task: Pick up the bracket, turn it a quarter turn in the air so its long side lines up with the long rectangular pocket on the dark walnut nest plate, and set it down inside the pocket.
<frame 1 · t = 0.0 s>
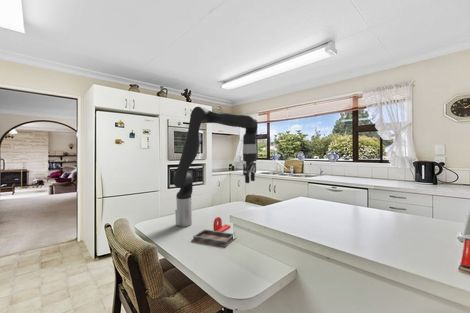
hand: (250, 182, 122), 29 cm above the counter, tool pointing down, fingers open, 8 cm apart
bracket: (222, 230, 131), on the counter
nest plate: (214, 239, 117), on the counter
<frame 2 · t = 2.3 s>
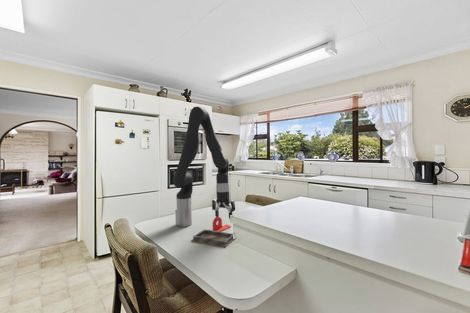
hand: (223, 217, 131), 7 cm above the counter, tool pointing down, fingers open, 8 cm apart
bracket: (222, 230, 132), on the counter, touching gripper
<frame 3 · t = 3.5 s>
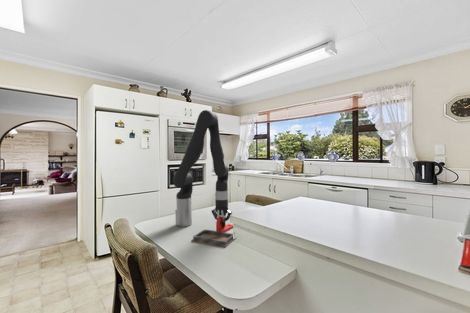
hand: (221, 226, 131), 2 cm above the counter, tool pointing down, fingers closed on bracket
bracket: (225, 229, 131), on the counter, touching gripper
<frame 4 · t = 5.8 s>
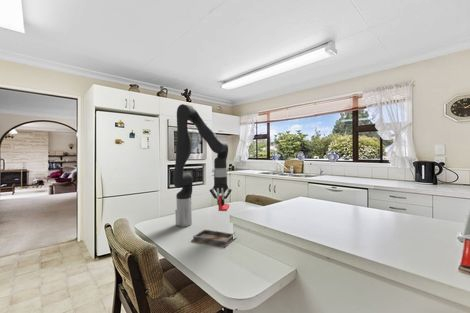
hand: (221, 205, 128), 15 cm above the counter, tool pointing down, fingers closed on bracket
bracket: (224, 208, 129), point 13 cm above the counter, touching gripper
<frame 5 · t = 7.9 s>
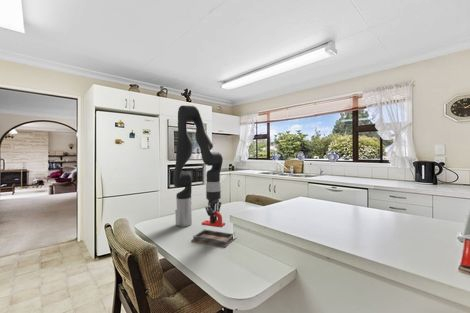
hand: (213, 222, 116), 9 cm above the counter, tool pointing down, fingers closed on bracket
bracket: (213, 225, 119), point 7 cm above the counter, touching gripper
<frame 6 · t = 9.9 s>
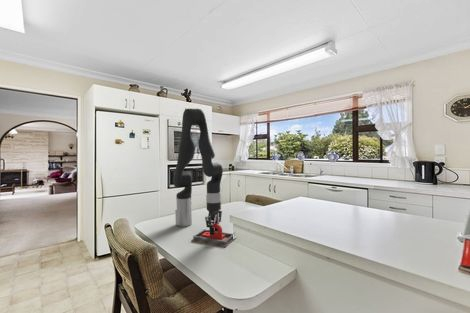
hand: (214, 232, 117), 4 cm above the counter, tool pointing down, fingers open, 4 cm apart
bracket: (213, 237, 119), resting on nest plate
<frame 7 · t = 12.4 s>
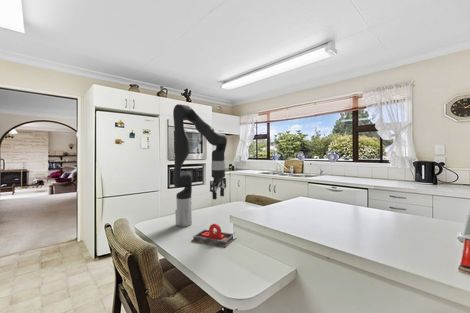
hand: (218, 197, 124), 20 cm above the counter, tool pointing down, fingers open, 8 cm apart
nothing on the counter moved.
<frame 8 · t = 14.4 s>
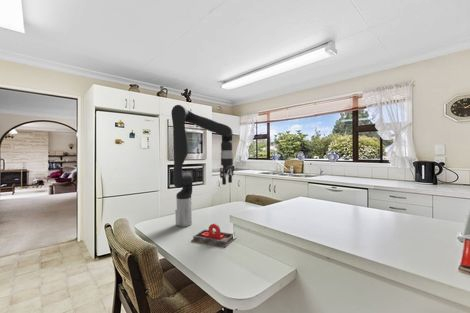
hand: (227, 183, 139), 26 cm above the counter, tool pointing down, fingers open, 8 cm apart
nothing on the counter moved.
at the end: bracket 2.1 cm off-centre on the nest plate, point 0.4 cm above the nest plate's base; bracket tilted 0°; the gripper is holding nothing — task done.
